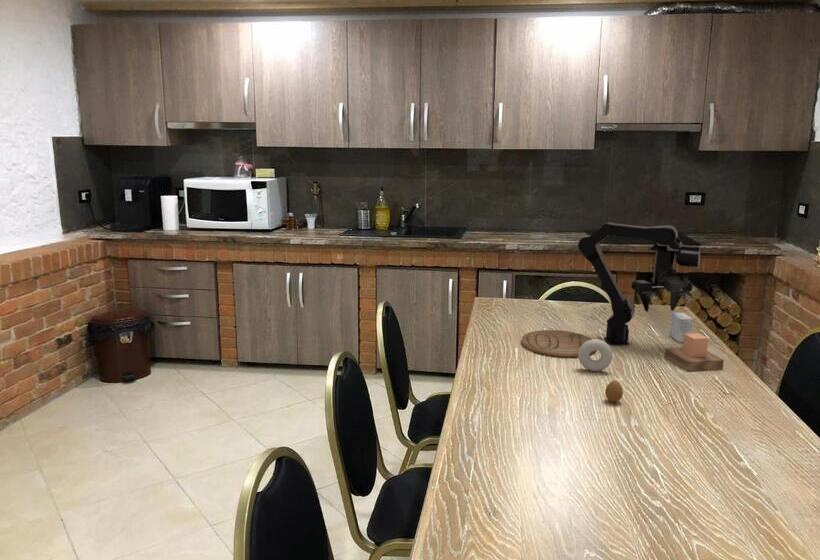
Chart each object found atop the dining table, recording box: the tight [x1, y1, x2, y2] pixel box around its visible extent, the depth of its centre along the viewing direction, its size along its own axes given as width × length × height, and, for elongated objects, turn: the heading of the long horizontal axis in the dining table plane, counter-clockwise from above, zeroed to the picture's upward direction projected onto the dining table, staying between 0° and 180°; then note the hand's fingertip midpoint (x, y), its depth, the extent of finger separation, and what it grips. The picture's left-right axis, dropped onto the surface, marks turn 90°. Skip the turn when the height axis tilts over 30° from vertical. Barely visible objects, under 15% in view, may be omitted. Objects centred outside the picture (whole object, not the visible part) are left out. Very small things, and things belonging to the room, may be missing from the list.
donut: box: [577, 338, 614, 372], centre depth 190 cm, size 10×3×10 cm, turn 77°
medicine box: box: [669, 312, 694, 344], centre depth 222 cm, size 8×4×9 cm, turn 179°
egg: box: [604, 380, 624, 403], centre depth 169 cm, size 4×4×6 cm
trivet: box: [521, 329, 598, 359], centre depth 214 cm, size 25×25×2 cm
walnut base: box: [664, 347, 725, 372], centre depth 198 cm, size 12×12×3 cm
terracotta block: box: [681, 332, 709, 357], centre depth 197 cm, size 5×5×6 cm
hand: (659, 310), depth 210 cm, fingers open, 9 cm apart
